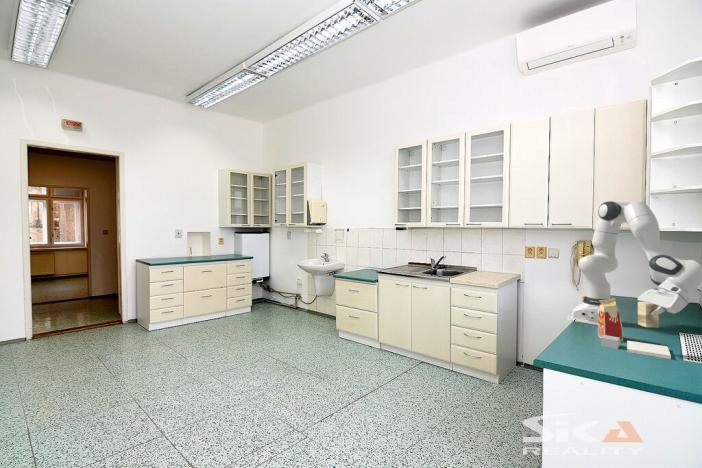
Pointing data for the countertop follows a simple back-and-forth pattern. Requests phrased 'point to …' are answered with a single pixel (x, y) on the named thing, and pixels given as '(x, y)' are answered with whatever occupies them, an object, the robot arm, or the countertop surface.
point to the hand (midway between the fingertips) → (646, 313)
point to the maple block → (647, 315)
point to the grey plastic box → (610, 341)
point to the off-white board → (648, 349)
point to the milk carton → (609, 319)
